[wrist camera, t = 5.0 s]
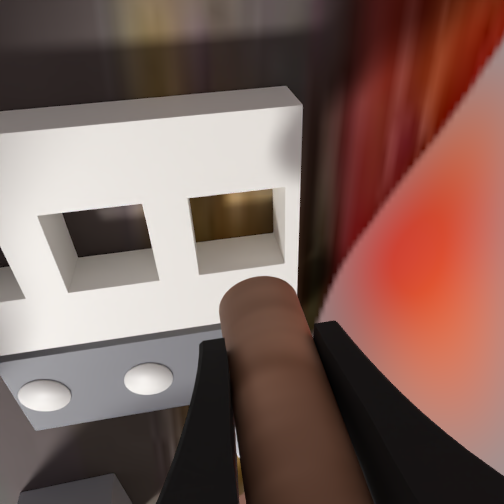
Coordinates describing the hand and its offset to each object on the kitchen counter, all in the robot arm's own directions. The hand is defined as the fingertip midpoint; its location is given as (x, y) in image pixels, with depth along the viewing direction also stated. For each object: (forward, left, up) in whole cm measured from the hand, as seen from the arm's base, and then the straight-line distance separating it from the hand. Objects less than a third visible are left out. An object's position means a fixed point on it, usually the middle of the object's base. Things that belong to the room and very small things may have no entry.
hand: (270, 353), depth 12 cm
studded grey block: (-6, -10, -9) cm, 14 cm away
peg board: (-6, 0, -9) cm, 10 cm away
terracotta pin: (0, 0, -2) cm, 2 cm away
